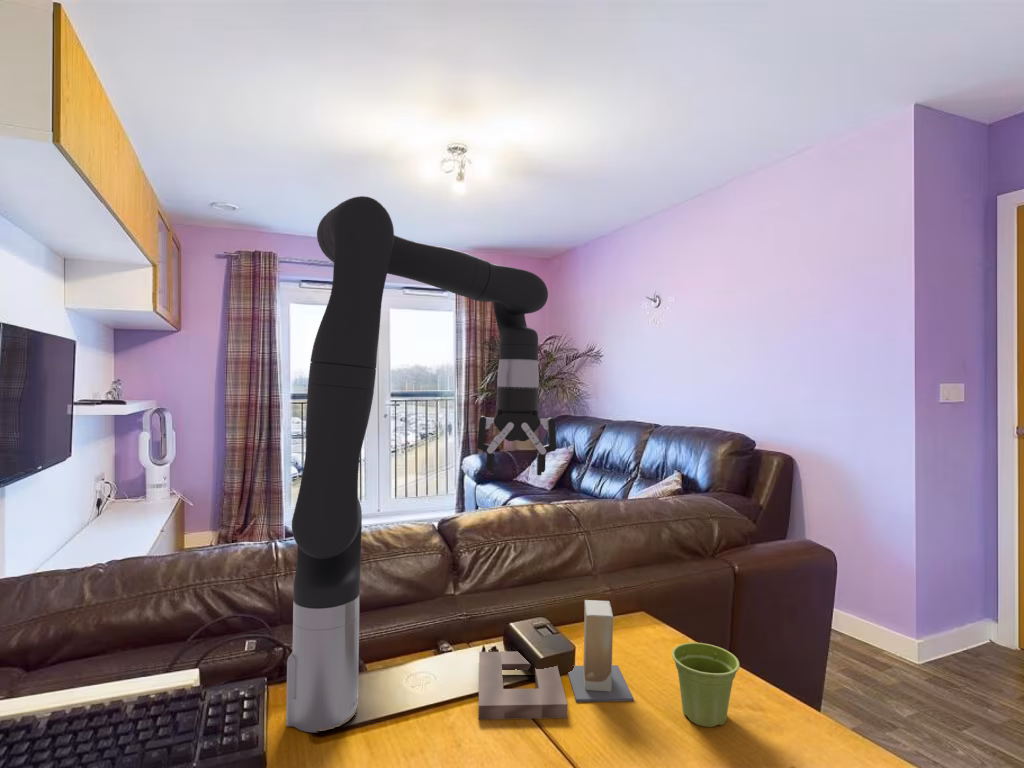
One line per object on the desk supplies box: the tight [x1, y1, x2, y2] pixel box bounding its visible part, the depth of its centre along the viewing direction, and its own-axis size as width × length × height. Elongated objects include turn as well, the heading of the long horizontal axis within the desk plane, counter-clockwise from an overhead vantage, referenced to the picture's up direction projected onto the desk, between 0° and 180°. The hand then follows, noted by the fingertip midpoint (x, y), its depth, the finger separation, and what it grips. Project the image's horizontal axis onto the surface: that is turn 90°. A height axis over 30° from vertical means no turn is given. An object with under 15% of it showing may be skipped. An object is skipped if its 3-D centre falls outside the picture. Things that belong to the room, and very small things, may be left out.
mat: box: [567, 664, 635, 703], centre depth 89 cm, size 9×10×1 cm
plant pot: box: [671, 642, 740, 728], centre depth 81 cm, size 9×9×9 cm
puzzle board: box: [478, 650, 568, 720], centre depth 87 cm, size 13×16×2 cm
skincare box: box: [582, 599, 614, 692], centre depth 89 cm, size 6×4×12 cm
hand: (515, 474), depth 99 cm, fingers open, 8 cm apart
